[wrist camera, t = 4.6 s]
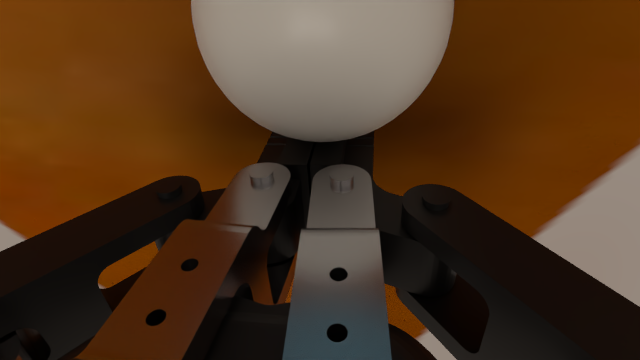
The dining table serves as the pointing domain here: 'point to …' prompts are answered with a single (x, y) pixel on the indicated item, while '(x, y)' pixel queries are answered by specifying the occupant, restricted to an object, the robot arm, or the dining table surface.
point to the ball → (322, 60)
